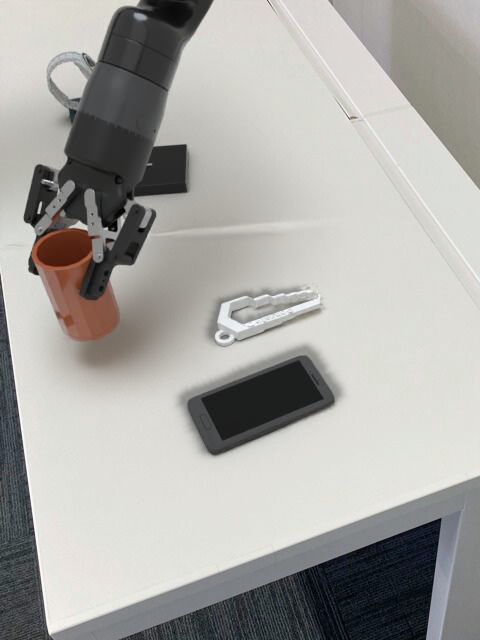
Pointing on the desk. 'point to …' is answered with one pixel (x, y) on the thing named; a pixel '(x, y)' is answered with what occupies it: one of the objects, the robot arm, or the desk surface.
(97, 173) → the robot arm
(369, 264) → the desk surface
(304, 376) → the cell phone
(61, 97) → the watch
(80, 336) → the tumbler
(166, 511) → the desk surface
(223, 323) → the white stepped wedge frame
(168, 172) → the hob panel
